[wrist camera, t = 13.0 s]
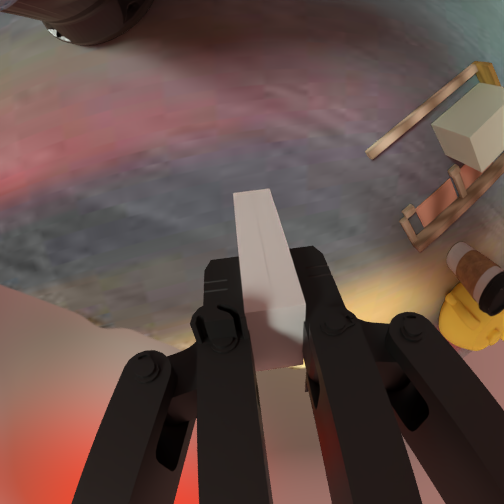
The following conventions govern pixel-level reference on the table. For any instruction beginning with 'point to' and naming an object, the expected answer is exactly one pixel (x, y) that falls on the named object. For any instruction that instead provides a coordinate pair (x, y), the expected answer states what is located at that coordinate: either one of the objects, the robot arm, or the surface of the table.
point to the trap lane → (460, 175)
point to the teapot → (468, 321)
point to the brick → (474, 127)
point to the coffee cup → (478, 277)
